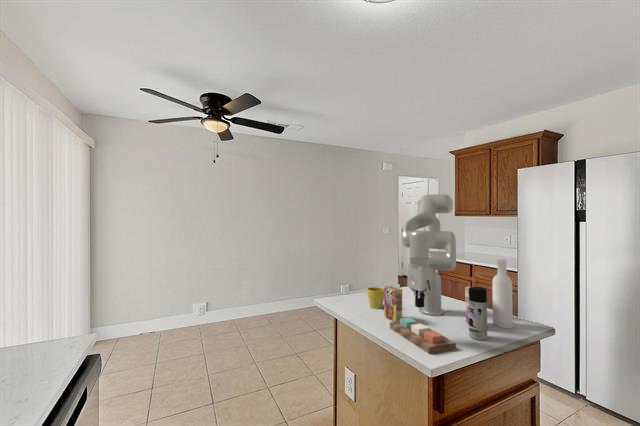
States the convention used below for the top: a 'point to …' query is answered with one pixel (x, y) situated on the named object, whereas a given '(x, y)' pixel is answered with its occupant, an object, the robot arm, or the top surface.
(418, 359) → the top surface
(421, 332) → the cream button
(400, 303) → the candy box
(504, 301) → the bottle
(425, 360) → the top surface
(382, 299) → the plant pot
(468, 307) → the candy bar box
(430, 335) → the brick red button
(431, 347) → the control board
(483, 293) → the spray can
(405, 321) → the teal button
